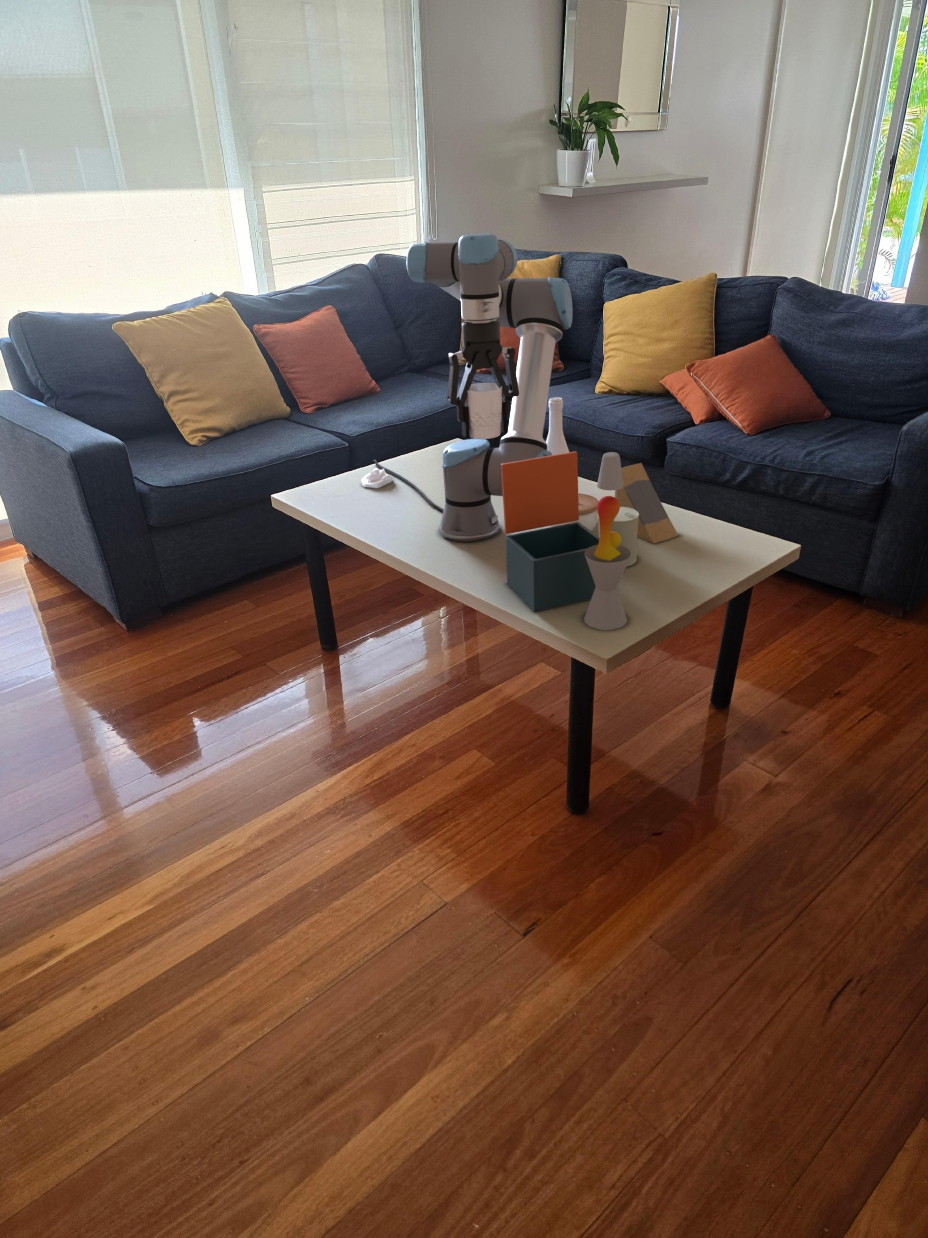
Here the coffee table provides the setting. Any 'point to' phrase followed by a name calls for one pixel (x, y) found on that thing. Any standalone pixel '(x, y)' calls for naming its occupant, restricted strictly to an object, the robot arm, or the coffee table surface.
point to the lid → (540, 492)
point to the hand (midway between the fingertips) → (484, 433)
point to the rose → (376, 479)
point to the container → (551, 565)
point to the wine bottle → (556, 428)
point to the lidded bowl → (586, 511)
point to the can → (627, 530)
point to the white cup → (484, 410)
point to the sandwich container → (644, 505)
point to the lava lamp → (607, 553)
